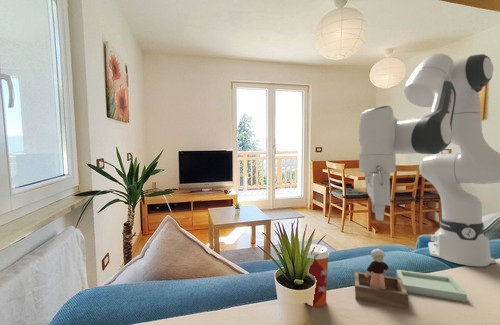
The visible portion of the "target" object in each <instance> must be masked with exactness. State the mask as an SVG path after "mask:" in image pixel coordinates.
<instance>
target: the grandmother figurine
mask: <svg viewBox="0 0 500 325" xmlns="http://www.w3.org/2000/svg"><path fill="white" fill-rule="evenodd" d="M370 254H371V257H372V258H373V261H371V262H370V263H369V265H368V267H367V268H366V270H365V273H366V274H365V277H367V278H368V277H369V275H370V274H372V277H371V282H370V287H375V288H381V289H385V282H384V276H385V275H384V271H385V273H386V274H387V275H389V274H391V271H390V269H389V265H388V264H387V263H385V262H384V258H385V252H384V251H383V250H382V249H379V248H375V249H373V250H371V252H370Z"/></svg>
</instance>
